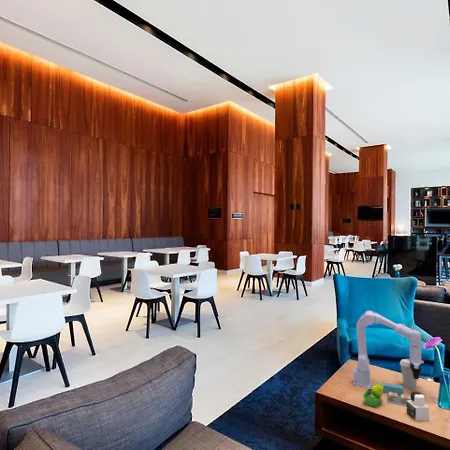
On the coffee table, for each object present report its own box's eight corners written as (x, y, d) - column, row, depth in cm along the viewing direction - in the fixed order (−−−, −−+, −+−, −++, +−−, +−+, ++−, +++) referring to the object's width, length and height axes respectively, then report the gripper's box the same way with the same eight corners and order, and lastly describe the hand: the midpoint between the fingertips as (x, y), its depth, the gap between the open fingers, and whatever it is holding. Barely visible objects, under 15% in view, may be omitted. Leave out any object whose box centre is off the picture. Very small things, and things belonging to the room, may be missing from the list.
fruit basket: (368, 396, 187) (368, 376, 187) (385, 401, 182) (385, 381, 182) (362, 405, 178) (362, 384, 178) (380, 411, 173) (380, 389, 173)
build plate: (386, 403, 180) (386, 402, 180) (387, 395, 189) (387, 394, 189) (412, 408, 175) (412, 407, 175) (411, 400, 184) (411, 399, 184)
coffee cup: (422, 391, 192) (420, 364, 193) (404, 390, 194) (402, 363, 195) (415, 384, 202) (414, 359, 203) (398, 383, 203) (397, 358, 205)
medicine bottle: (406, 414, 170) (406, 390, 170) (419, 413, 170) (419, 389, 171) (415, 422, 163) (415, 397, 163) (429, 421, 163) (429, 396, 163)
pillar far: (401, 402, 180) (401, 397, 180) (401, 399, 183) (401, 394, 183) (409, 404, 178) (409, 399, 178) (409, 401, 181) (409, 395, 181)
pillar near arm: (388, 400, 182) (388, 394, 182) (389, 397, 186) (389, 391, 186) (397, 402, 180) (397, 396, 180) (397, 398, 184) (397, 393, 184)
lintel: (383, 394, 191) (383, 385, 191) (383, 390, 194) (383, 382, 194) (403, 397, 186) (403, 388, 186) (402, 394, 190) (402, 385, 190)
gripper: (424, 358, 181) (424, 383, 181) (422, 349, 194) (422, 373, 194) (409, 356, 184) (410, 380, 184) (408, 347, 197) (409, 370, 197)
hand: (415, 376), depth 189 cm, fingers open, 6 cm apart
